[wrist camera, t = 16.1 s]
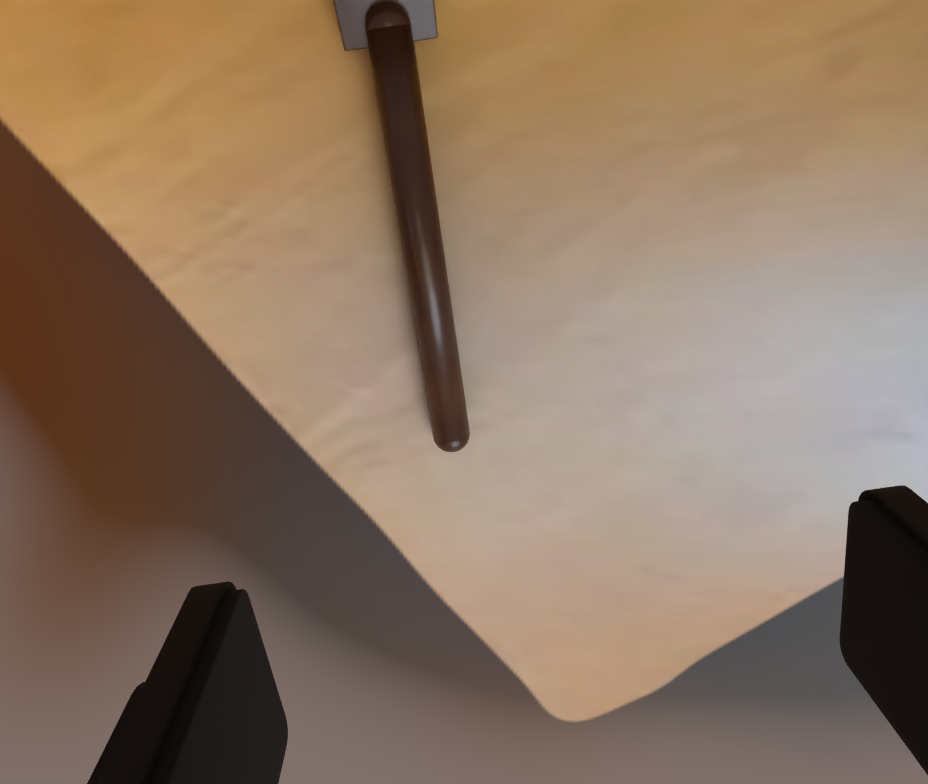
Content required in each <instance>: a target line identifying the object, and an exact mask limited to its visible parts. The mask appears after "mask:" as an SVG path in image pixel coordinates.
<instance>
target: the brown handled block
mask: <svg viewBox="0 0 928 784" xmlns="http://www.w3.org/2000/svg"><path fill="white" fill-rule="evenodd" d="M334 5H335V9H336V14H337V18H338V23H339V27H340V32H341V36H342V41H343V45H344V50H345V51H348V50H355V49H362V48H369V53H370V59H371V65H372V72H373V78H374V84H375V90H376V96H377V102H378V108H379V114H380V120H381V126H382V132H383V138H384V144H385V150H386V156H387V162H388V168H389V174H390V180H391V186H392V192H393V198H394V204H395V210H396V216H397V222H398V228H399V234H400V240H401V246H402V252H403V258H404V264H405V270H406V276H407V282H408V288H409V294H410V300H411V306H412V312H413V318H414V324H415V330H416V336H417V342H418V348H419V354H420V360H421V366H422V372H423V379H424V385H425V391H426V397H427V403H428V409H429V415H430V421H431V427H432V433H433V438H434V441H435V443H436V445H437V446H438V447H439V448H440V449H442V450H444V451H446V452H456V451H459V450H461V449H462V448H463V447H464V446H465V445H466V444H467V442H468V440H469V435H470V433H469V424H468V418H467V411H466V404H465V397H464V390H463V383H462V376H461V369H460V362H459V355H458V348H457V341H456V334H455V327H454V320H453V313H452V306H451V299H450V292H449V285H448V278H447V271H446V264H445V257H444V250H443V243H442V236H441V229H440V222H439V215H438V208H437V201H436V194H435V187H434V180H433V173H432V166H431V159H430V152H429V145H428V138H427V131H426V124H425V117H424V110H423V103H422V97H421V90H420V83H419V76H418V69H417V62H416V55H415V48H414V41H418V40H425V39H432V38H437V37H438V33H437V24H436V15H435V6H434V0H334Z"/></svg>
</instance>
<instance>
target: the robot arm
mask: <svg viewBox="0 0 928 784" xmlns="http://www.w3.org/2000/svg"><path fill="white" fill-rule="evenodd" d="M840 646H841V651H842V655H843V657H844V659H845V662H846V663H847V665H848V667H849V668H850V669H851V671H852V672H853V674H854V675H855V676H856V678H857V679H858V680H859V682H860V683H861V684H862V686H863V687H864V689H865V690H866V691H867V693H868V694H869V695H870V697H871V698H872V699H873V701H874V702H875V704H876V705H877V706H878V708H879V709H880V710H881V712H882V713H883V714H884V716H885V717H886V719H887V720H888V721H889V723H890V724H891V725H892V727H893V728H894V729H895V731H896V732H897V734H898V735H899V736H900V738H901V739H902V740H903V742H904V743H905V744H906V746H907V747H908V748H909V750H910V751H911V753H912V754H913V755H914V757H915V758H916V760H917V761H918V762H919V764H920V765H921V766H922V768H923V769H924V771H925V772H926V773H927V775H928V503H927V502H926V501H924V500H923V499H922V498H921V497H919V496H918V495H917V494H916V493H915V492H913V491H912V490H911V489H909V488H908V487H906V486H894V487H887V488H880V489H873V490H866V491H864V492H862V493H861V495H860V497H859V500H858V501H857V502H853V503H851V505H850V507H849V514H848V528H847V543H846V557H845V571H844V586H843V600H842V614H841V628H840ZM287 738H288V728H287V720H286V716H285V713H284V709H283V706H282V703H281V700H280V696H279V693H278V690H277V687H276V683H275V680H274V677H273V674H272V671H271V667H270V664H269V661H268V657H267V654H266V651H265V648H264V644H263V641H262V638H261V635H260V631H259V628H258V625H257V622H256V618H255V615H254V612H253V608H252V606H251V602H250V599H249V596H248V593H247V592H246V590H244V589H241V590H236V588H235V586H234V585H233V583H231V582H223V583H216V584H208V585H202V586H195V587H193V588H191V590H190V591H189V593H188V595H187V597H186V599H185V601H184V603H183V605H182V607H181V610H180V611H179V614H178V616H177V618H176V620H175V622H174V624H173V626H172V628H171V630H170V632H169V634H168V636H167V638H166V640H165V643H164V645H163V647H162V649H161V651H160V653H159V655H158V657H157V659H156V661H155V663H154V665H153V667H152V669H151V671H150V673H149V676H148V678H147V680H146V682H143V683H141V684H140V685H139V686H137V687H136V689H135V690H134V692H133V693H132V695H131V697H130V699H129V701H128V703H127V705H126V707H125V709H124V711H123V713H122V715H121V717H120V719H119V721H118V723H117V725H116V727H115V729H114V731H113V733H112V735H111V737H110V739H109V741H108V743H107V745H106V747H105V749H104V751H103V753H102V755H101V757H100V759H99V761H98V763H97V765H96V767H95V769H94V771H93V773H92V775H91V777H90V779H89V781H88V783H87V784H278V782H279V777H280V773H281V769H282V764H283V760H284V755H285V750H286V746H287Z"/></svg>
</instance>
